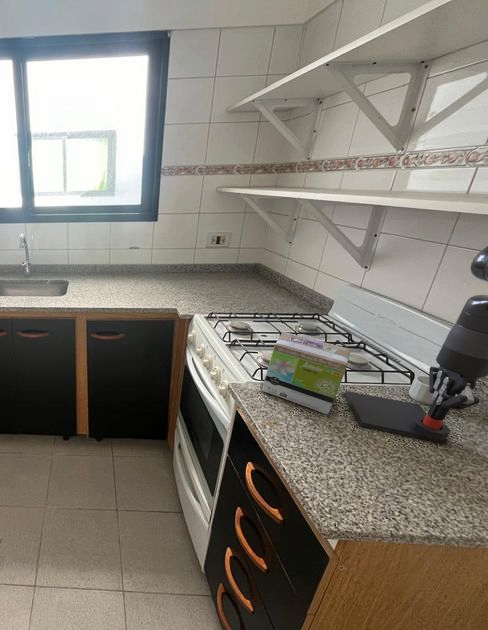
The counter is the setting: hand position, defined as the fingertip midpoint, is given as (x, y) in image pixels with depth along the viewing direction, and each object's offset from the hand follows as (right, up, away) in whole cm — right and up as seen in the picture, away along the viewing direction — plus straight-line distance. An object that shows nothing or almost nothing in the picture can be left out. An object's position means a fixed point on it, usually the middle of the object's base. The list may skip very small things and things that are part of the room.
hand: (434, 417), depth 75 cm
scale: (-3, -2, +7) cm, 8 cm away
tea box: (-20, +1, +16) cm, 25 cm away
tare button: (0, -2, +1) cm, 2 cm away
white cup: (+12, +1, +14) cm, 18 cm away
